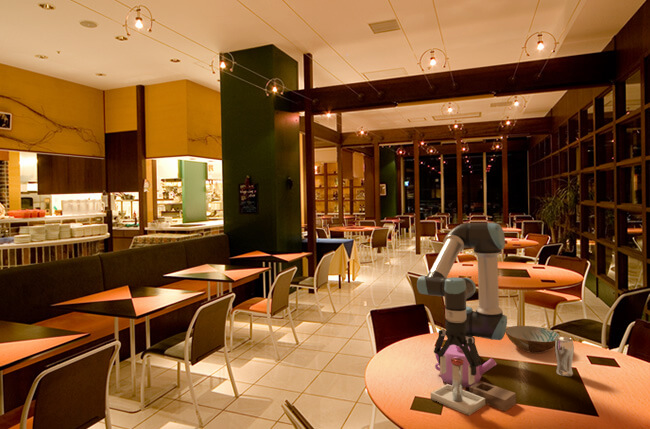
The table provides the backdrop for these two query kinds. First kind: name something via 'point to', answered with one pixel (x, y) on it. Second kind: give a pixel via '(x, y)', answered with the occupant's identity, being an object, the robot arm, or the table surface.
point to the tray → (466, 406)
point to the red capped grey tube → (457, 379)
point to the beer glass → (564, 355)
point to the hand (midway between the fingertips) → (457, 378)
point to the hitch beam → (494, 395)
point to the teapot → (458, 353)
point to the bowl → (532, 338)
